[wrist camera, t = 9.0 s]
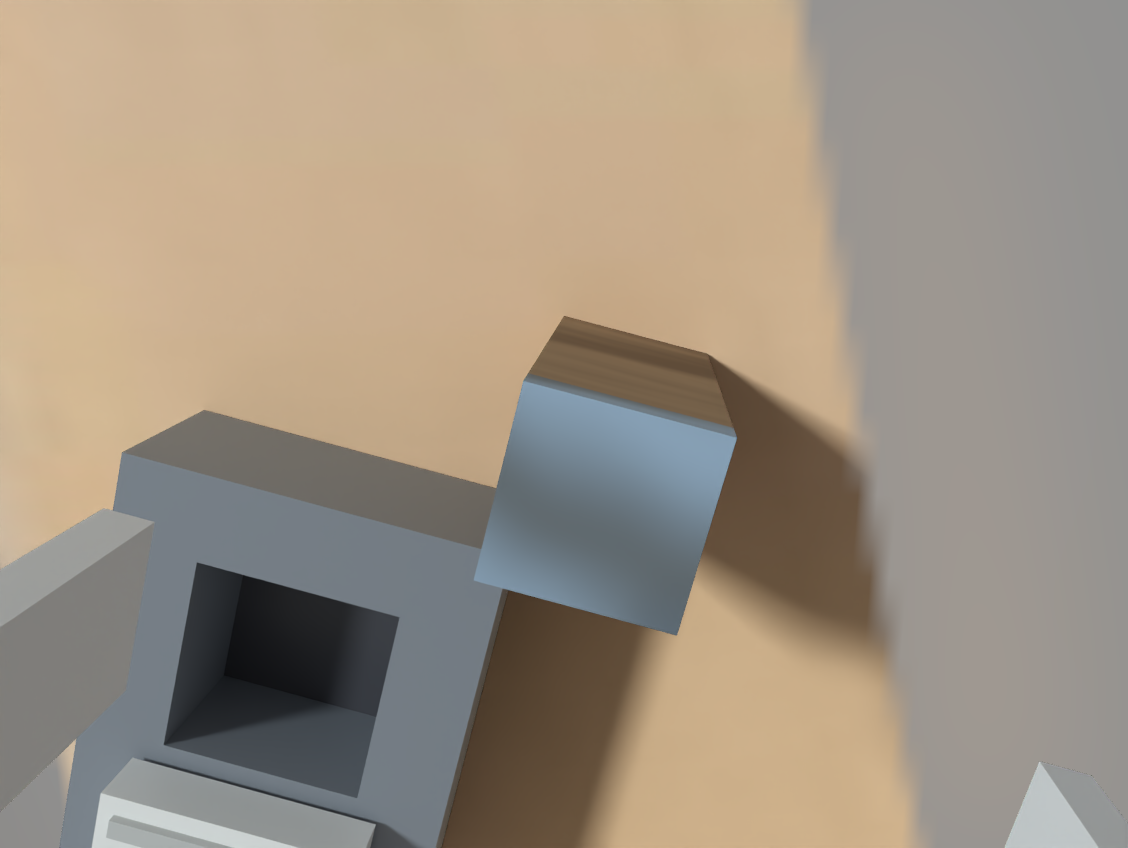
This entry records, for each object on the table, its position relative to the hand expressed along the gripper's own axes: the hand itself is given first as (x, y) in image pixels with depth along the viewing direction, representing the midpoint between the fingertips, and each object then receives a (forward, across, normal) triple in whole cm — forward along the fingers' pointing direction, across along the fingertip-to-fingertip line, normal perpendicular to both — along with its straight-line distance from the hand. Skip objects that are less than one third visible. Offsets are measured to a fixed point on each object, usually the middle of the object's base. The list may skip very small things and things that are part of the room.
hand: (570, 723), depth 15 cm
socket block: (+22, -8, -11) cm, 26 cm away
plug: (+22, 0, 0) cm, 22 cm away
